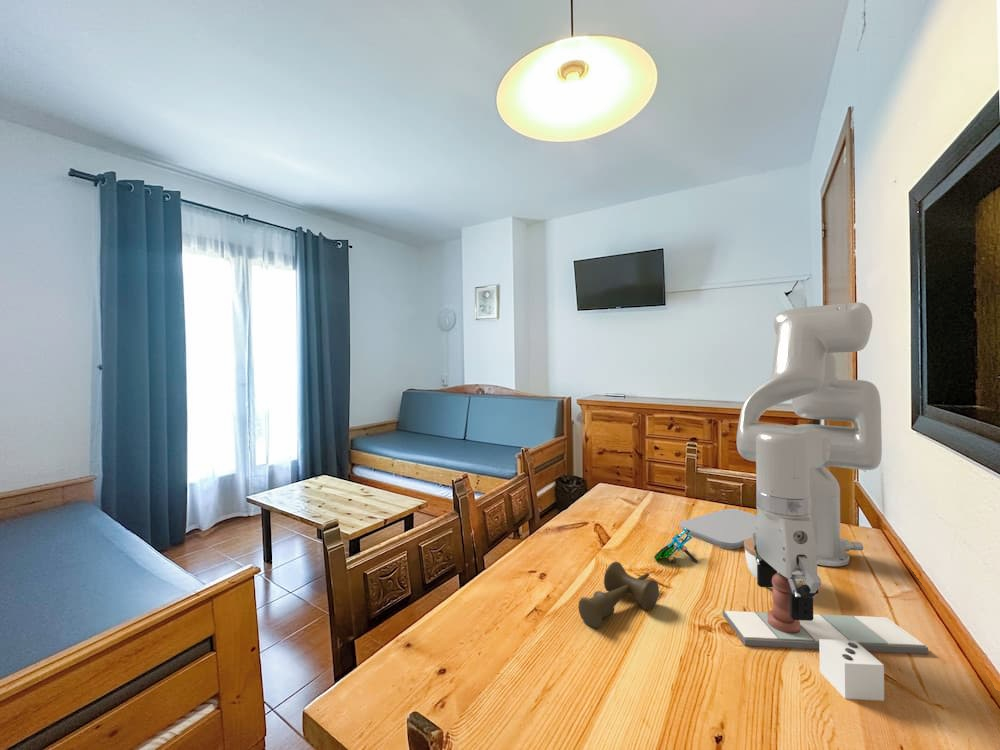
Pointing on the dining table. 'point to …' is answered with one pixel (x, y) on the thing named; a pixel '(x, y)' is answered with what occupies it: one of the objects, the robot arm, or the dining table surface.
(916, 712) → the dining table surface
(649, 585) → the kendama
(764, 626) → the track board
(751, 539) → the lidded jar
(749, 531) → the tablet
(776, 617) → the pawn
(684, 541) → the stick construction toy
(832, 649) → the die
